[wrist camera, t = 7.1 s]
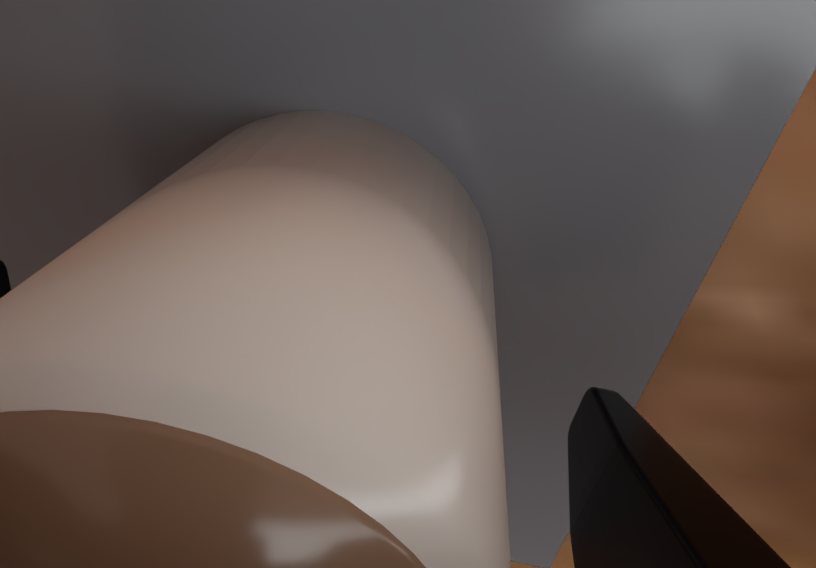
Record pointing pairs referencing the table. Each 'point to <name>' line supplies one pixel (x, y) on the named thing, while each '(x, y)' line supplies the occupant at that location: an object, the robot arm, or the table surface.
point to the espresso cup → (262, 368)
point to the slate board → (441, 154)
